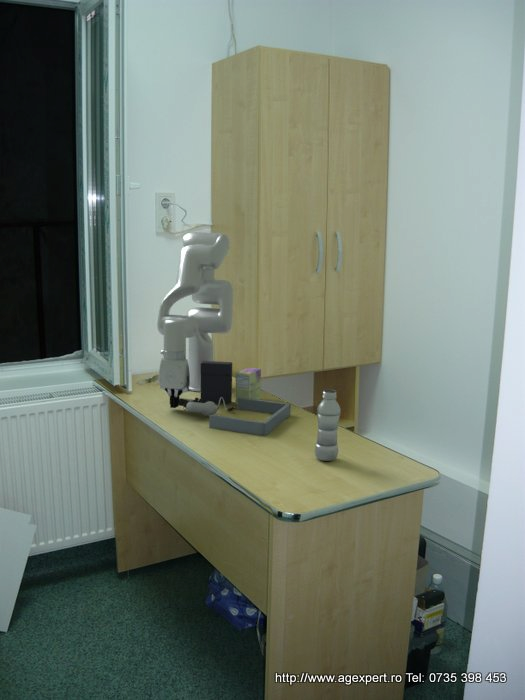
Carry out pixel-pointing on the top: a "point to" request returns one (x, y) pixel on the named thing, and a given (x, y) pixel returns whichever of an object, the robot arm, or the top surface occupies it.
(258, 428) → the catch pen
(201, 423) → the top surface
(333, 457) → the plastic bottle
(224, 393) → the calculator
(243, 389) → the box
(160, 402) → the top surface
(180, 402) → the clip-on lamp
